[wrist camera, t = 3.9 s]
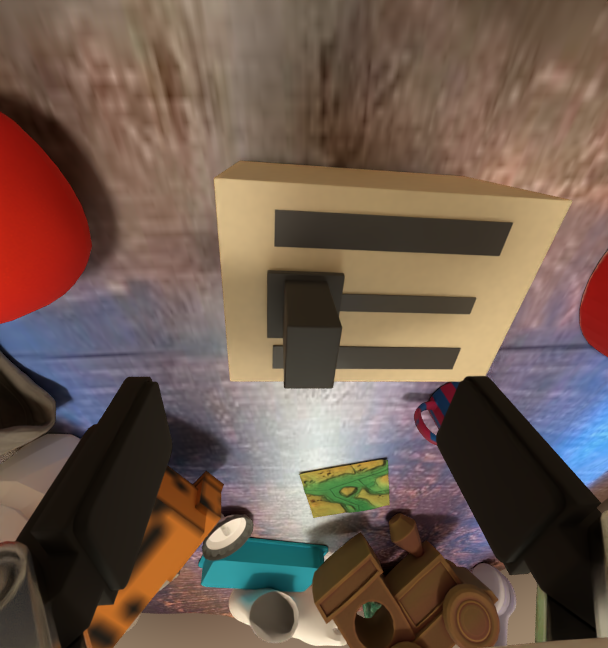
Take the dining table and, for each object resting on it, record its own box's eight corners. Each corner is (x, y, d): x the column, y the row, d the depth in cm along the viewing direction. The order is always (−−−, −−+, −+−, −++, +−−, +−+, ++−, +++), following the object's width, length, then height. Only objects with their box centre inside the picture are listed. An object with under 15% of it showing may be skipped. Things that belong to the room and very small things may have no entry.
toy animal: (236, 471, 35) (189, 634, 20) (129, 577, 38) (11, 798, 22) (164, 414, 34) (50, 542, 18) (57, 529, 36) (-125, 729, 20)
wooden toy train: (399, 758, 34) (311, 605, 39) (379, 680, 45) (312, 568, 50) (522, 627, 37) (427, 502, 42) (476, 584, 48) (404, 488, 53)
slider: (343, 272, 14) (366, 320, 11) (334, 335, 16) (351, 394, 13) (267, 269, 14) (263, 317, 10) (267, 334, 16) (263, 394, 12)
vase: (100, 502, 36) (16, 624, 24) (18, 493, 34) (-112, 616, 23) (107, 437, 34) (20, 535, 22) (21, 425, 33) (-119, 522, 21)
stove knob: (258, 534, 46) (250, 518, 48) (246, 508, 42) (238, 492, 44) (212, 568, 43) (206, 549, 45) (195, 544, 39) (189, 524, 41)
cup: (463, 424, 37) (497, 476, 32) (392, 409, 35) (414, 463, 29) (498, 385, 34) (542, 435, 28) (422, 366, 32) (454, 417, 26)
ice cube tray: (333, 567, 50) (330, 546, 52) (209, 556, 44) (213, 533, 47) (306, 594, 55) (305, 574, 58) (193, 588, 50) (197, 565, 52)
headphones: (517, 574, 58) (519, 722, 49) (481, 559, 64) (477, 689, 55) (438, 553, 50) (423, 726, 42) (405, 538, 56) (386, 686, 48)
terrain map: (299, 475, 40) (299, 472, 40) (313, 519, 46) (313, 516, 47) (388, 460, 39) (386, 457, 40) (389, 506, 46) (389, 503, 46)
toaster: (461, 175, 22) (575, 200, 14) (421, 307, 28) (483, 383, 19) (239, 160, 21) (212, 177, 12) (245, 302, 27) (229, 382, 18)
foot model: (218, 626, 53) (344, 646, 58) (234, 666, 40) (394, 688, 46) (233, 567, 58) (349, 591, 63) (252, 587, 45) (396, 615, 50)
